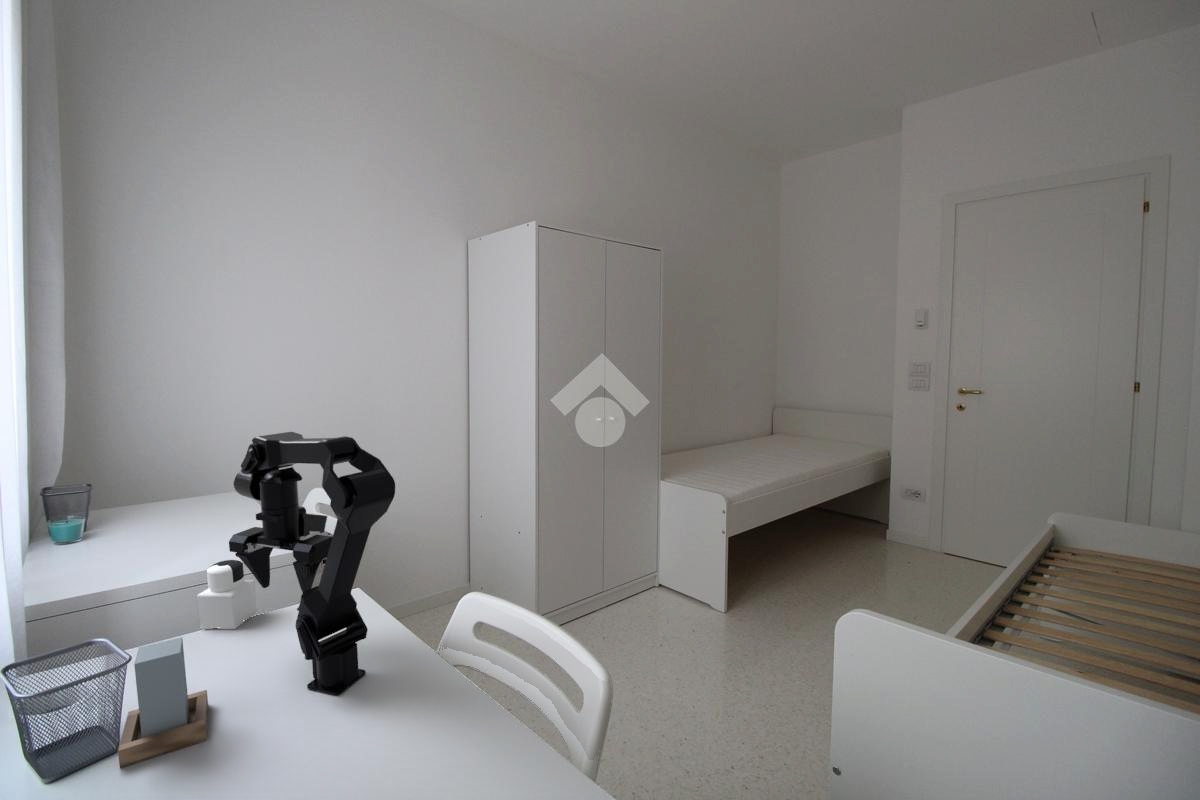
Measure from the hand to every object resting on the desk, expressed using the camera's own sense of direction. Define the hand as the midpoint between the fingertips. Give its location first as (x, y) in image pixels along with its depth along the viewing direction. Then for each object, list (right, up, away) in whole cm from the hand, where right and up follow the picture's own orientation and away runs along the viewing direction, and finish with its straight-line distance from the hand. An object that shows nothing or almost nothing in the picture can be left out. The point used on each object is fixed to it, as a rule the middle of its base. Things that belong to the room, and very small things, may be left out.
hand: (286, 590), depth 100 cm
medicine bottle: (-19, -11, +14) cm, 26 cm away
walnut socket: (-7, -14, -19) cm, 25 cm away
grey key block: (-7, -14, -19) cm, 24 cm away
